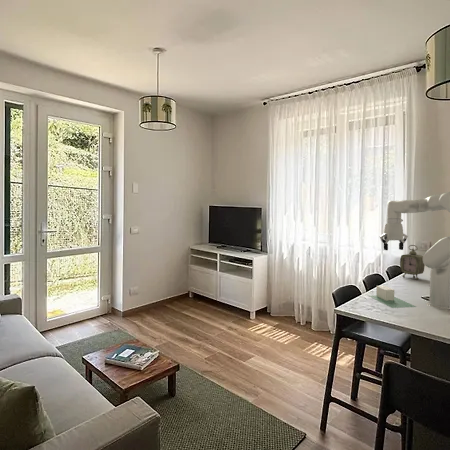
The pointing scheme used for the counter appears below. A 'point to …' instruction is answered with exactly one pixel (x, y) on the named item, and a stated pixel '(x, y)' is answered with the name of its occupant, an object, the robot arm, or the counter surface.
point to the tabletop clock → (412, 263)
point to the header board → (393, 302)
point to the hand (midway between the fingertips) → (393, 249)
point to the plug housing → (385, 293)
